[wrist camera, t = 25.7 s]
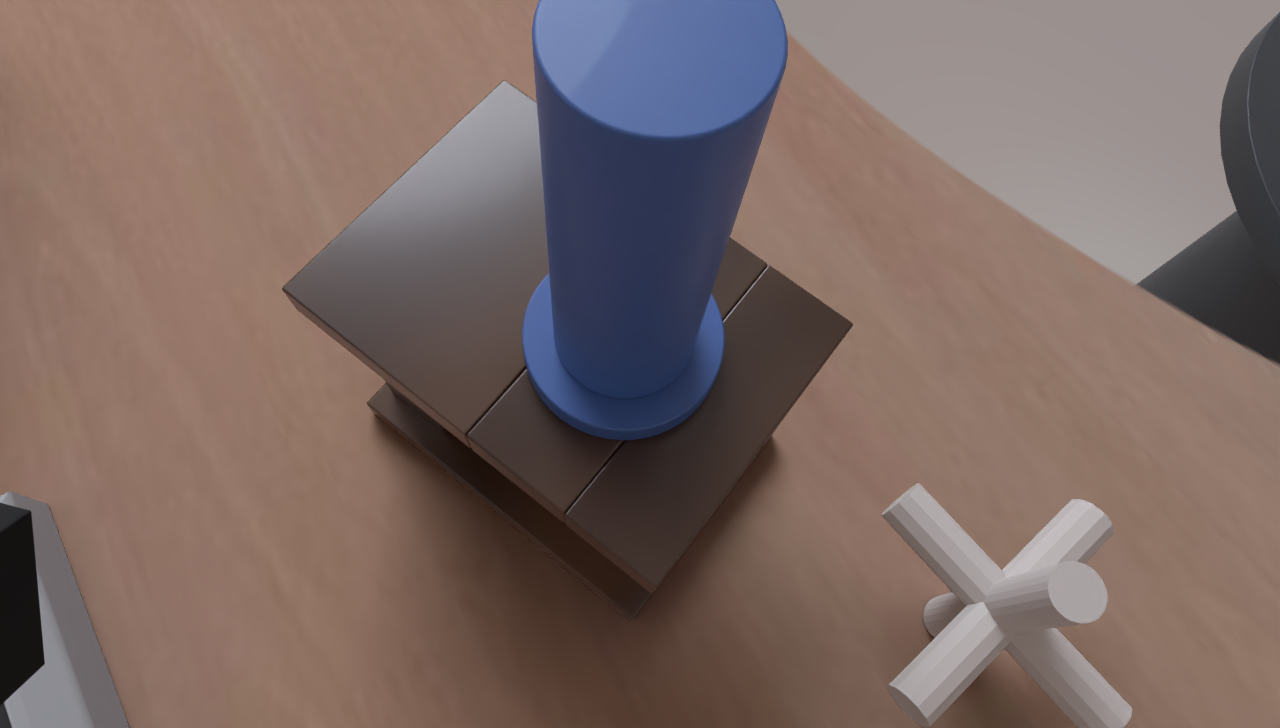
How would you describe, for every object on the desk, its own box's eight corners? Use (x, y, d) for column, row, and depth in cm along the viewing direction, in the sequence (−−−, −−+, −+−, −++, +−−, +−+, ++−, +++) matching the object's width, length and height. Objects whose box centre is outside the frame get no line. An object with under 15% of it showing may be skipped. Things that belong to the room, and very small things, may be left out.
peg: (726, 397, 31) (914, 17, 14) (628, 521, 30) (701, 266, 12) (602, 305, 32) (629, -159, 15) (500, 420, 31) (391, 46, 13)
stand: (772, 433, 37) (854, 323, 26) (631, 622, 34) (656, 588, 23) (525, 251, 40) (504, 78, 29) (371, 411, 37) (280, 288, 25)
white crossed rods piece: (1114, 634, 35) (1306, 613, 26) (953, 812, 33) (1104, 860, 23) (937, 451, 38) (1055, 371, 28) (773, 602, 35) (845, 569, 26)
